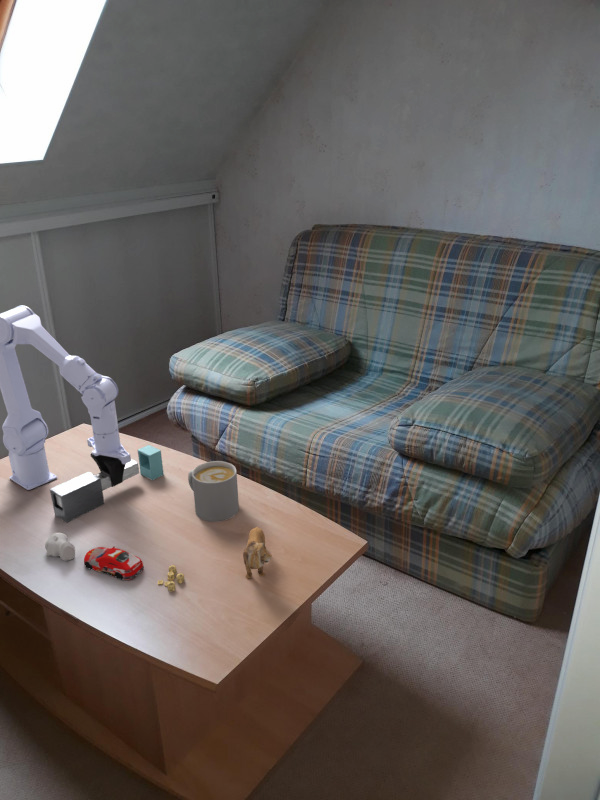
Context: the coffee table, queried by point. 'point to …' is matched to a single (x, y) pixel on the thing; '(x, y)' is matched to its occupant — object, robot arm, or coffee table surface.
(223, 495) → the coffee mug
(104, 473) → the metal square rod
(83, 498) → the graphite sleeve
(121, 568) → the race car
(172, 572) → the gold nuggets
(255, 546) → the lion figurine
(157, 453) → the teal socket
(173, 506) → the coffee table surface
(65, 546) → the pale two-lobed sculpture
